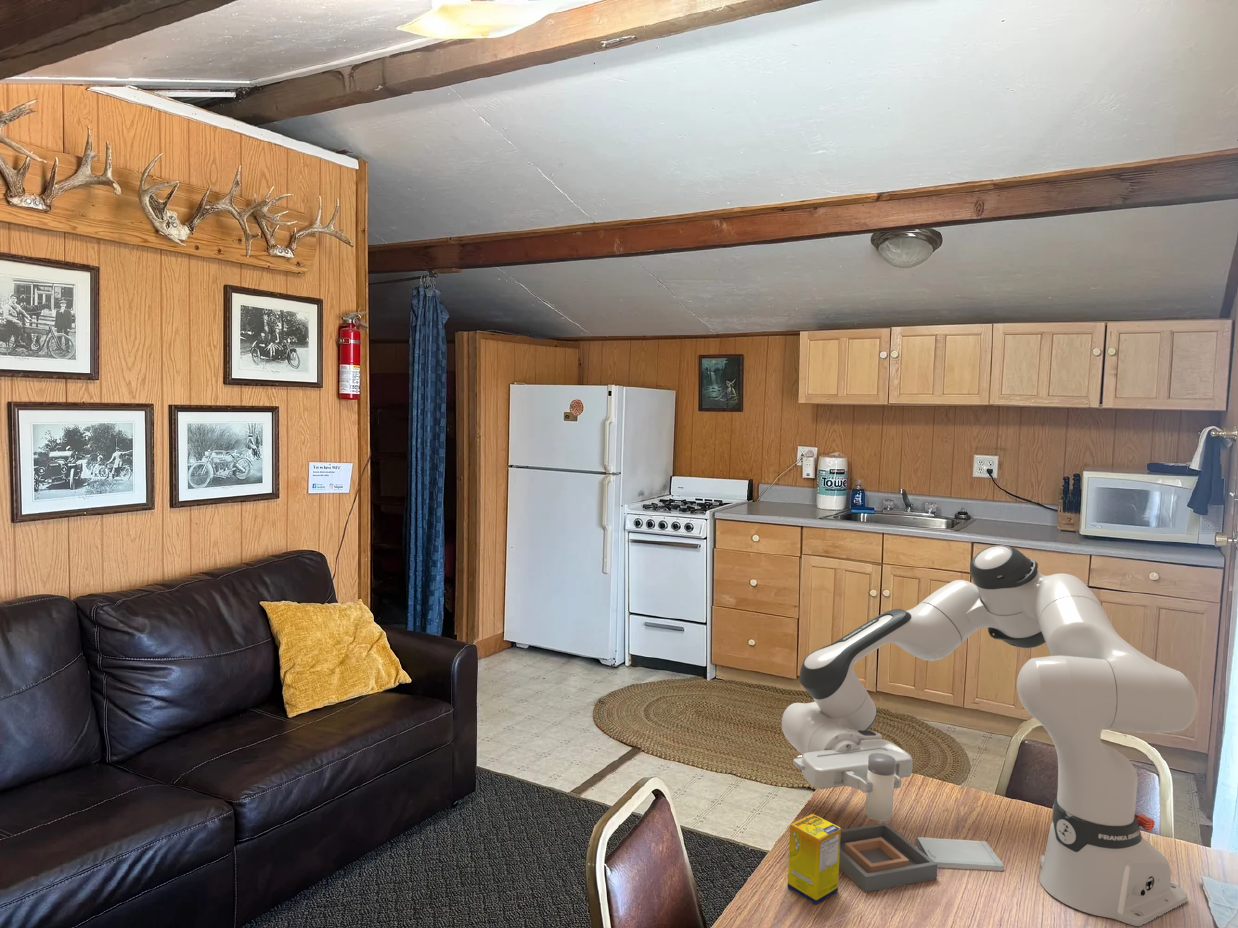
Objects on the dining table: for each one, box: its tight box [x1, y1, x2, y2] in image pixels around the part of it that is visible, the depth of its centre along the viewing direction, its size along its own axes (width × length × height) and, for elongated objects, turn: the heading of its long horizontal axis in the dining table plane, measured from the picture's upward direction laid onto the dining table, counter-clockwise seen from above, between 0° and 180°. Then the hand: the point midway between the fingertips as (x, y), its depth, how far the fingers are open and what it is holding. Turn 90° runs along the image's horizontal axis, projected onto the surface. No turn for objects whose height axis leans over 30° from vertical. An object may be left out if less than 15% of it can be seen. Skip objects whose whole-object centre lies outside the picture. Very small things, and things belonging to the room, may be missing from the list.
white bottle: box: [864, 753, 895, 822], centre depth 143 cm, size 4×4×10 cm
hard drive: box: [915, 836, 1005, 872], centre depth 147 cm, size 2×8×12 cm
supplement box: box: [787, 813, 842, 905], centre depth 135 cm, size 6×6×11 cm
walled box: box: [839, 822, 938, 893], centre depth 144 cm, size 14×14×3 cm
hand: (883, 786), depth 142 cm, fingers closed on white bottle, 4 cm apart
